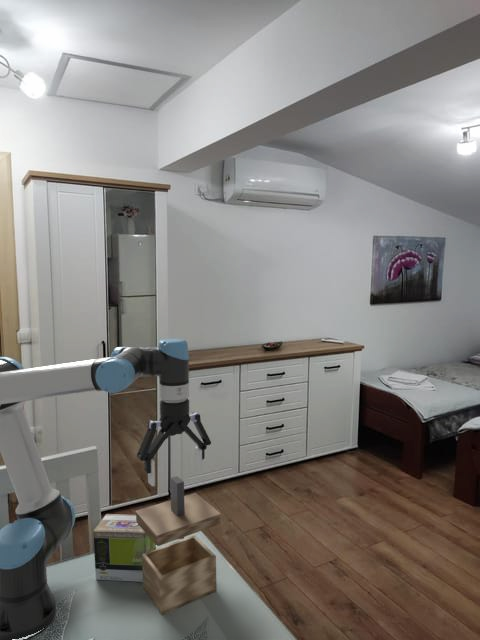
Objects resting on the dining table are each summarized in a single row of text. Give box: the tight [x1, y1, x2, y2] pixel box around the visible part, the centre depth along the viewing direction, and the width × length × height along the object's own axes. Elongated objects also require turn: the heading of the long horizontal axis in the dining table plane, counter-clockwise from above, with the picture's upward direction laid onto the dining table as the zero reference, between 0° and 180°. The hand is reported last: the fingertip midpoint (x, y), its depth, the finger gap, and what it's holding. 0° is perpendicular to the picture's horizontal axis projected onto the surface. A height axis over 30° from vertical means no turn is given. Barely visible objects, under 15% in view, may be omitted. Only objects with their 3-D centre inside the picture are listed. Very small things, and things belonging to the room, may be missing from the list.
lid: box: [134, 475, 222, 547], centre depth 125 cm, size 18×14×12 cm
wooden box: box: [142, 534, 218, 616], centre depth 127 cm, size 16×12×10 cm
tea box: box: [92, 513, 157, 583], centre depth 135 cm, size 15×10×15 cm
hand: (175, 477), depth 124 cm, fingers open, 13 cm apart
